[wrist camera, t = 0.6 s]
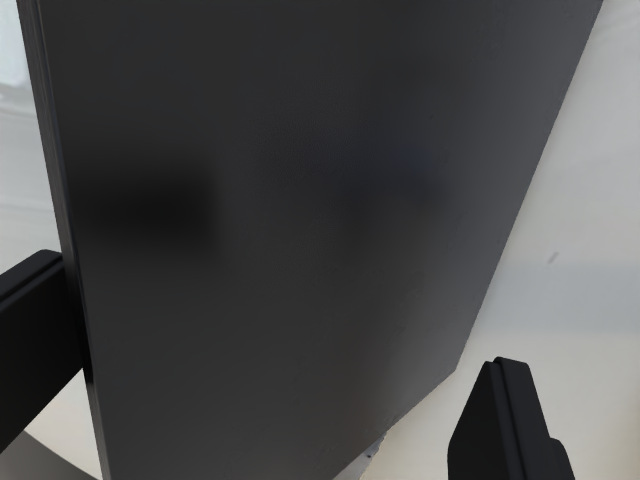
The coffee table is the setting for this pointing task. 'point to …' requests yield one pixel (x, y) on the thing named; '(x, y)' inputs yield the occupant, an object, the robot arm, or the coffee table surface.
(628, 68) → the coffee table surface
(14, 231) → the coffee table surface
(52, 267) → the robot arm
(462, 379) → the coffee table surface
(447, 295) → the screen
